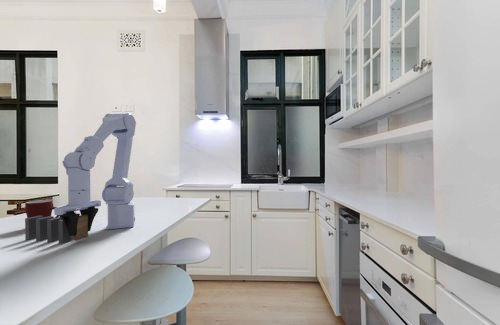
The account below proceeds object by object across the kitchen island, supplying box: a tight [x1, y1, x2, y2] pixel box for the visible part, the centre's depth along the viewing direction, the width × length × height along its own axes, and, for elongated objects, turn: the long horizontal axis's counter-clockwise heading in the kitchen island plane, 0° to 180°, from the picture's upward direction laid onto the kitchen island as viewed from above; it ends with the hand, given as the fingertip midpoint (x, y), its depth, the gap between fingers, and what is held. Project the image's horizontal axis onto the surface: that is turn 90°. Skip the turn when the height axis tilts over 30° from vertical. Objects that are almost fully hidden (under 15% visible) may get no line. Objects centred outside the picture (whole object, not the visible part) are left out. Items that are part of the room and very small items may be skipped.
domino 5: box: [71, 214, 89, 242], centre depth 78 cm, size 2×4×7 cm, turn 167°
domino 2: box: [35, 215, 55, 242], centre depth 81 cm, size 2×4×7 cm, turn 167°
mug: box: [24, 199, 60, 218], centre depth 96 cm, size 10×8×10 cm
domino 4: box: [58, 220, 73, 244], centre depth 79 cm, size 2×4×7 cm, turn 167°
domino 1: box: [24, 216, 43, 241], centre depth 82 cm, size 2×4×7 cm, turn 167°
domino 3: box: [46, 216, 62, 243], centre depth 80 cm, size 2×4×7 cm, turn 167°
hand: (80, 233), depth 78 cm, fingers closed on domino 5, 4 cm apart
